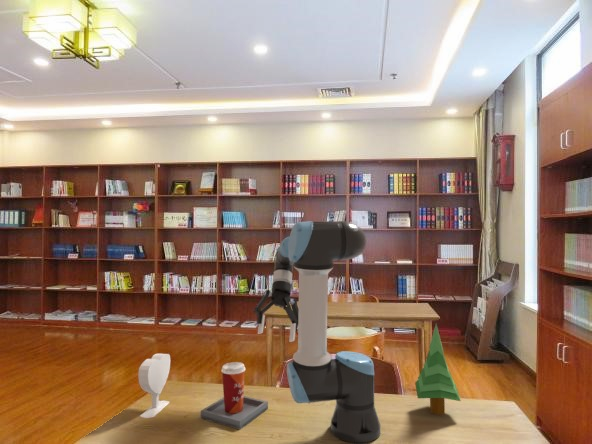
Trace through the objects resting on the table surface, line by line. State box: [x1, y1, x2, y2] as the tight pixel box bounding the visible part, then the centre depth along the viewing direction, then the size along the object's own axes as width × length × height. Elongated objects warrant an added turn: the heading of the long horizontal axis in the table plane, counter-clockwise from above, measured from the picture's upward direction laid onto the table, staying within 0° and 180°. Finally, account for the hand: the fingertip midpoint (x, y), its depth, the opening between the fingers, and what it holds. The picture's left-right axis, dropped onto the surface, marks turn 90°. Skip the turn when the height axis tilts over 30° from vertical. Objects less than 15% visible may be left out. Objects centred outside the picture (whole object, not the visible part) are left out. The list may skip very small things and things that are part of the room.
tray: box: [200, 395, 269, 430], centre depth 137 cm, size 16×16×2 cm
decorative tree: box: [414, 323, 462, 416], centre depth 137 cm, size 14×16×30 cm
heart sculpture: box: [137, 353, 171, 419], centre depth 141 cm, size 16×5×18 cm, turn 170°
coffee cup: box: [220, 361, 247, 414], centre depth 137 cm, size 8×8×15 cm
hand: (276, 337), depth 149 cm, fingers open, 13 cm apart
